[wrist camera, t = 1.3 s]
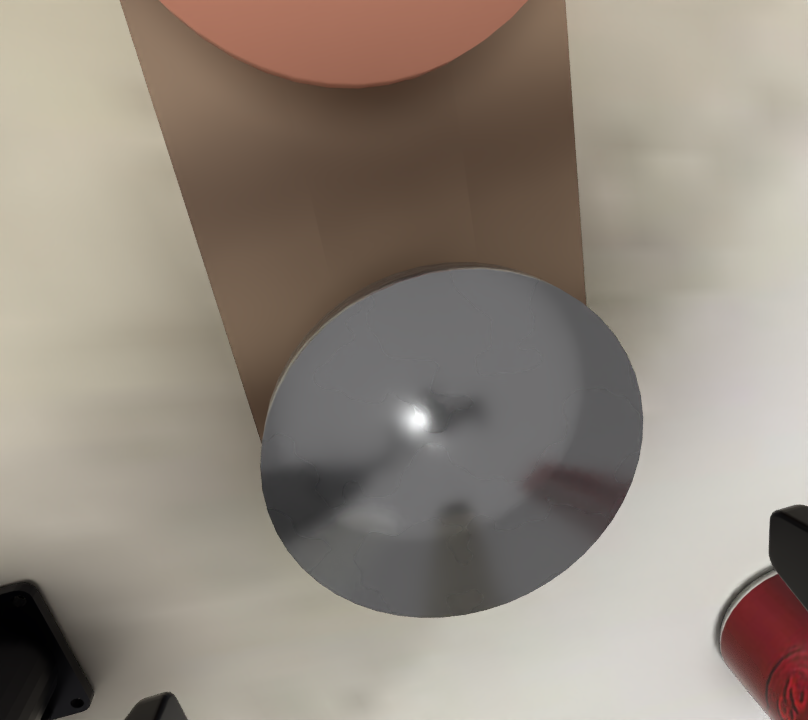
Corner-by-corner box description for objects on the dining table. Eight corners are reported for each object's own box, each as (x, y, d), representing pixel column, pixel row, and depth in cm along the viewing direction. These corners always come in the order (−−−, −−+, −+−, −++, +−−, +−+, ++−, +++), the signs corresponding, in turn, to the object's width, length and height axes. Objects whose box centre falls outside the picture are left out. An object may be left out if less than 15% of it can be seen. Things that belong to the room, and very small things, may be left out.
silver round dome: (581, 486, 21) (647, 565, 17) (314, 555, 20) (315, 656, 16) (559, 211, 17) (636, 228, 13) (231, 282, 16) (205, 324, 12)
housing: (561, 426, 23) (597, 464, 20) (295, 493, 22) (293, 542, 19) (494, -298, 15) (537, -404, 12) (70, -240, 14) (10, -341, 11)
